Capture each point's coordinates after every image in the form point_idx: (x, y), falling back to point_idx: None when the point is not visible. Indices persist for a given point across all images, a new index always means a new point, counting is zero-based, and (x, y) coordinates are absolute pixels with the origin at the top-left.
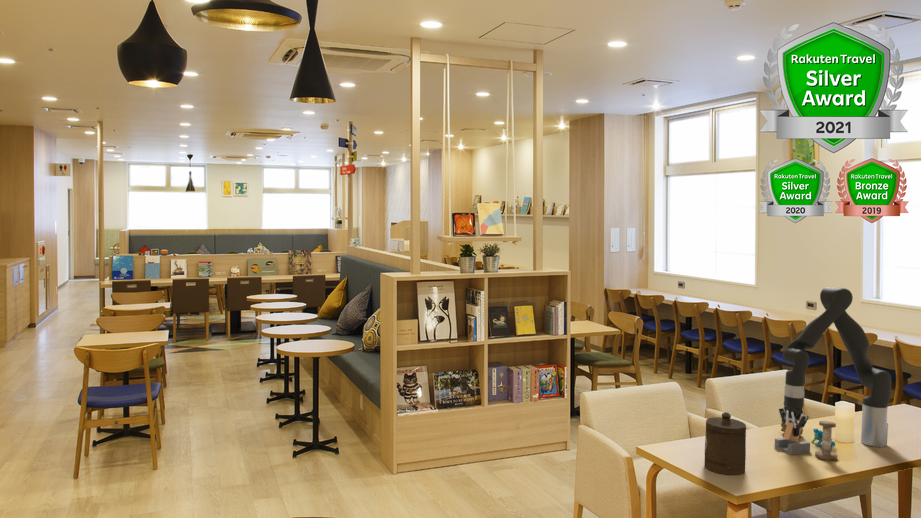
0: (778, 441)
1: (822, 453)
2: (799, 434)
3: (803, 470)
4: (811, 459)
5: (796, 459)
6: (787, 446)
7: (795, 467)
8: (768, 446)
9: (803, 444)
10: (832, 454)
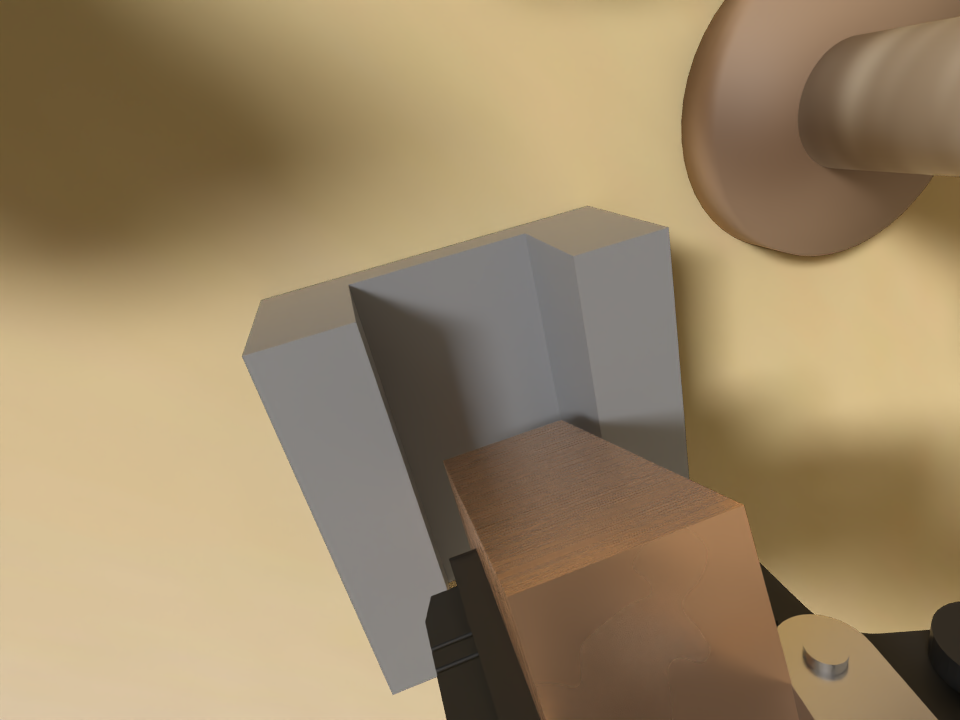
0: None
1: (837, 167)
2: (624, 452)
3: (940, 553)
4: (793, 348)
5: (747, 502)
6: (433, 468)
7: (878, 585)
8: (325, 633)
9: (672, 374)
10: (897, 9)
